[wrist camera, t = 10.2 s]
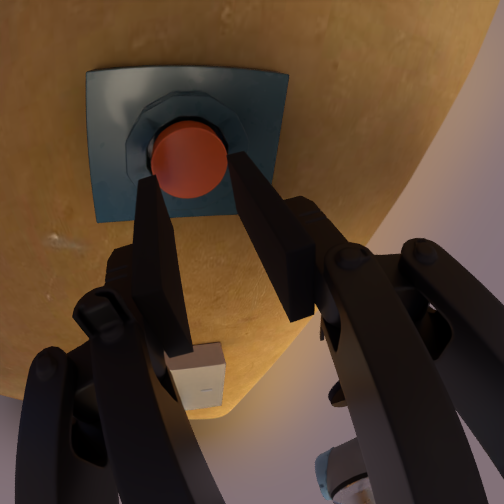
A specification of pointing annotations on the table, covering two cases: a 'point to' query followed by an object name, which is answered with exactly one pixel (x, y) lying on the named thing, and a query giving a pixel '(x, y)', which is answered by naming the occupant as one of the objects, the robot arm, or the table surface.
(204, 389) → the plate
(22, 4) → the table surface
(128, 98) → the button block
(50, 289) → the table surface
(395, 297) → the robot arm
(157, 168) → the button
